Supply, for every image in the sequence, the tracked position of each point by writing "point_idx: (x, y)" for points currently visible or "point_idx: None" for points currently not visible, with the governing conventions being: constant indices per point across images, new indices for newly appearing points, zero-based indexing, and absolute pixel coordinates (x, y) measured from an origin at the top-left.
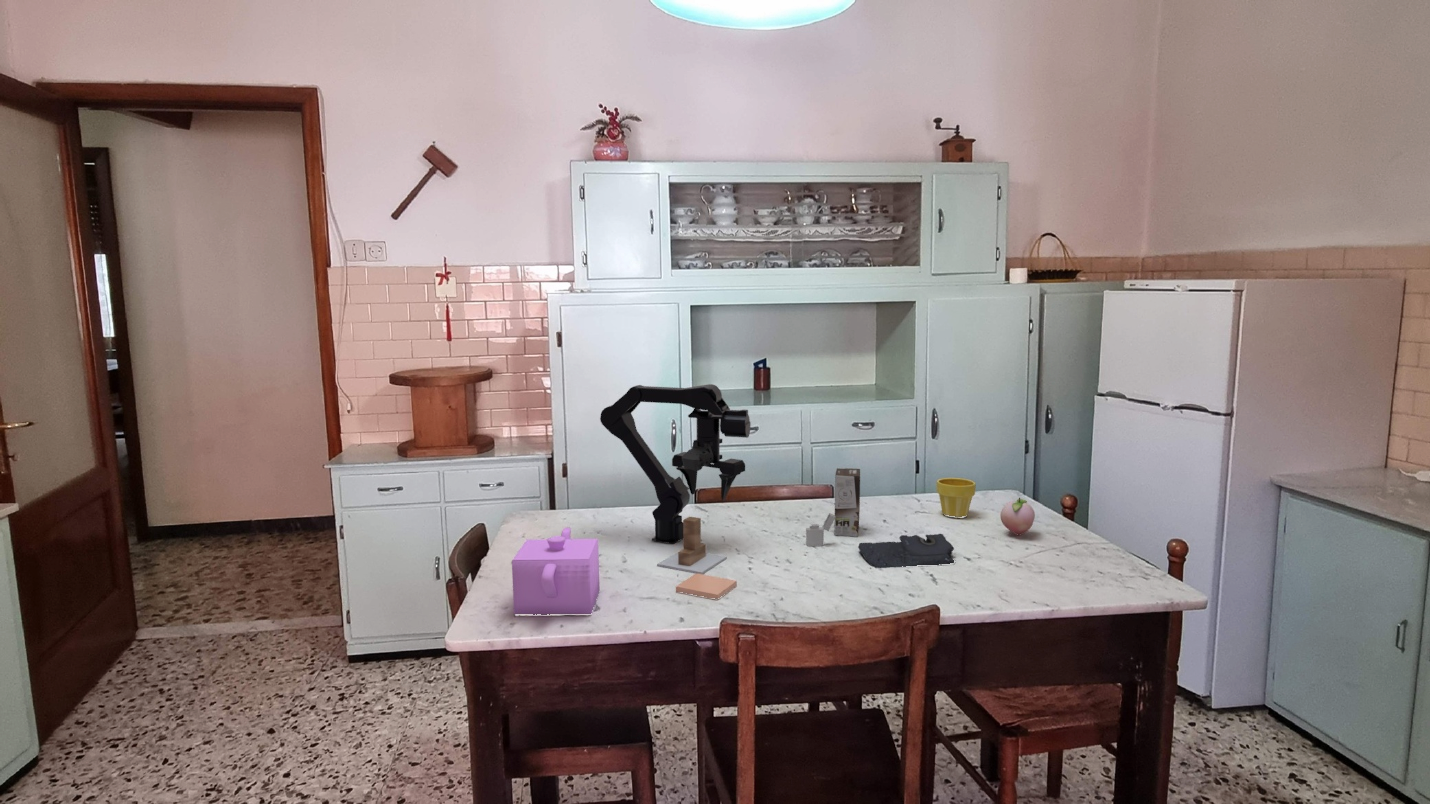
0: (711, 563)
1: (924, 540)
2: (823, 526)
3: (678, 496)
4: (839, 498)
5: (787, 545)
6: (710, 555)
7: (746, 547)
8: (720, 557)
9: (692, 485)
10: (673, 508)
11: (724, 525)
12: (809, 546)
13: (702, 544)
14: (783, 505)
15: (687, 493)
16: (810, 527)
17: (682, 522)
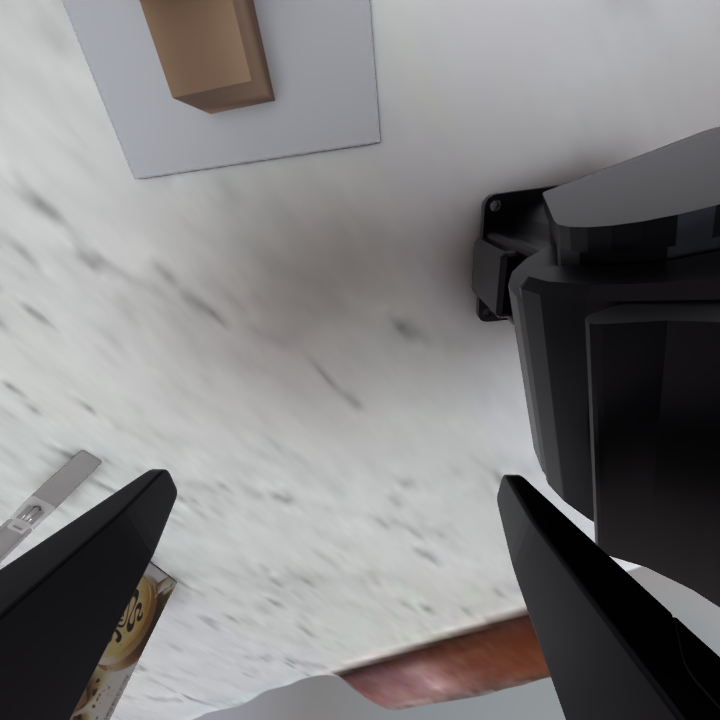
0: (87, 5)
1: None
2: (25, 533)
3: (620, 286)
4: None
5: (128, 431)
6: (200, 139)
7: (202, 350)
8: (143, 145)
9: (550, 574)
10: (587, 203)
11: (419, 485)
12: (79, 452)
13: (176, 67)
14: (376, 632)
15: (575, 484)
16: (32, 510)
17: (500, 310)
